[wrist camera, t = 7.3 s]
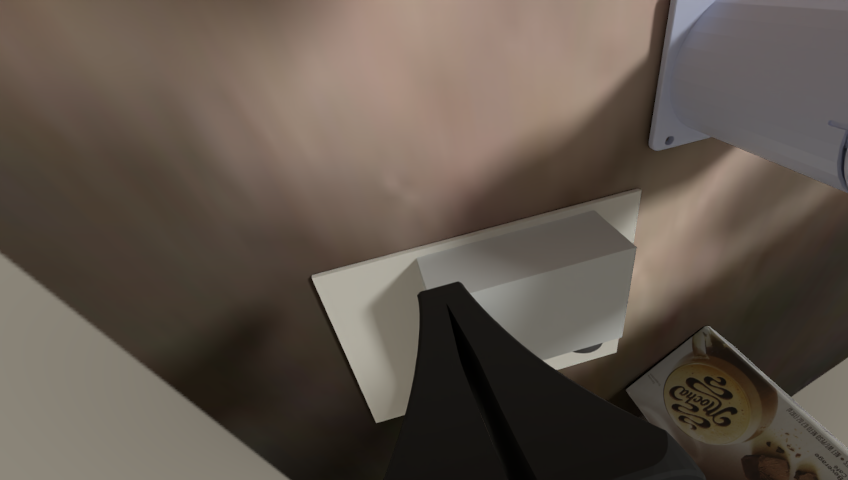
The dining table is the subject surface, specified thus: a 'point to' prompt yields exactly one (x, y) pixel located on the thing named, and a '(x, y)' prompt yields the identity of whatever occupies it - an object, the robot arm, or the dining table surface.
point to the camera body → (546, 282)
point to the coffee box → (735, 416)
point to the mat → (399, 308)
